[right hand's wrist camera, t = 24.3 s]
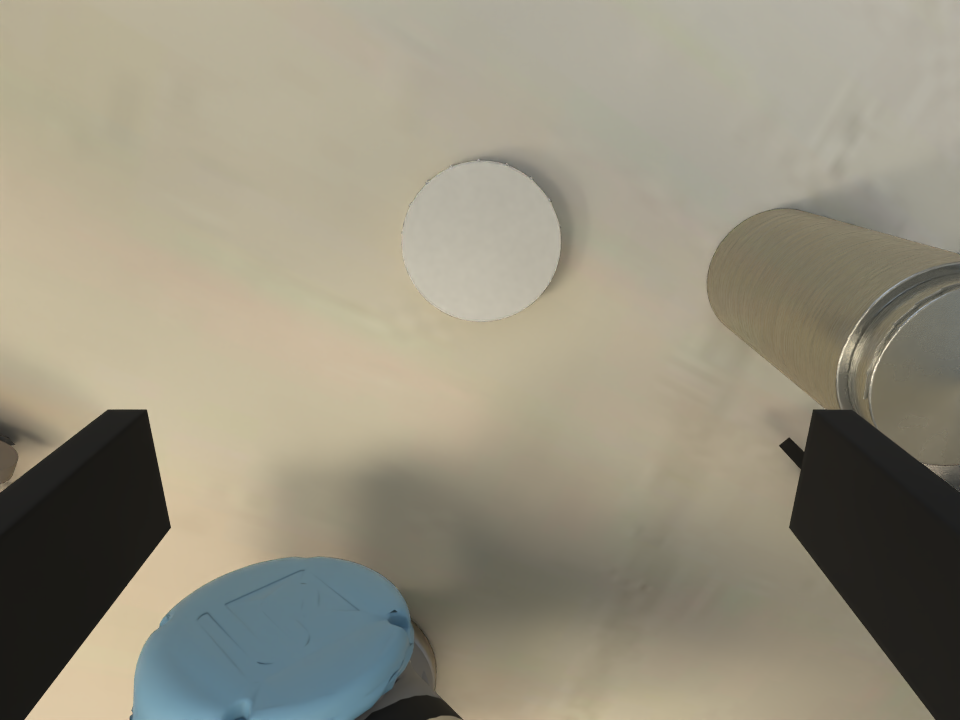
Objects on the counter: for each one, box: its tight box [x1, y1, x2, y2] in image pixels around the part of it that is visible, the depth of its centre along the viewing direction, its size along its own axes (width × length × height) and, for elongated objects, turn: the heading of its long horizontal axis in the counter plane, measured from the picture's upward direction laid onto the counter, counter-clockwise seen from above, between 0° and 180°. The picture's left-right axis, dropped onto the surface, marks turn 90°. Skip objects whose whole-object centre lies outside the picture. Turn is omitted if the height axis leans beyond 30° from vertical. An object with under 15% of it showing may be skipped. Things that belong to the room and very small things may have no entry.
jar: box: [707, 209, 960, 466], centre depth 31 cm, size 8×8×17 cm
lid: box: [401, 159, 561, 322], centre depth 38 cm, size 9×9×2 cm
